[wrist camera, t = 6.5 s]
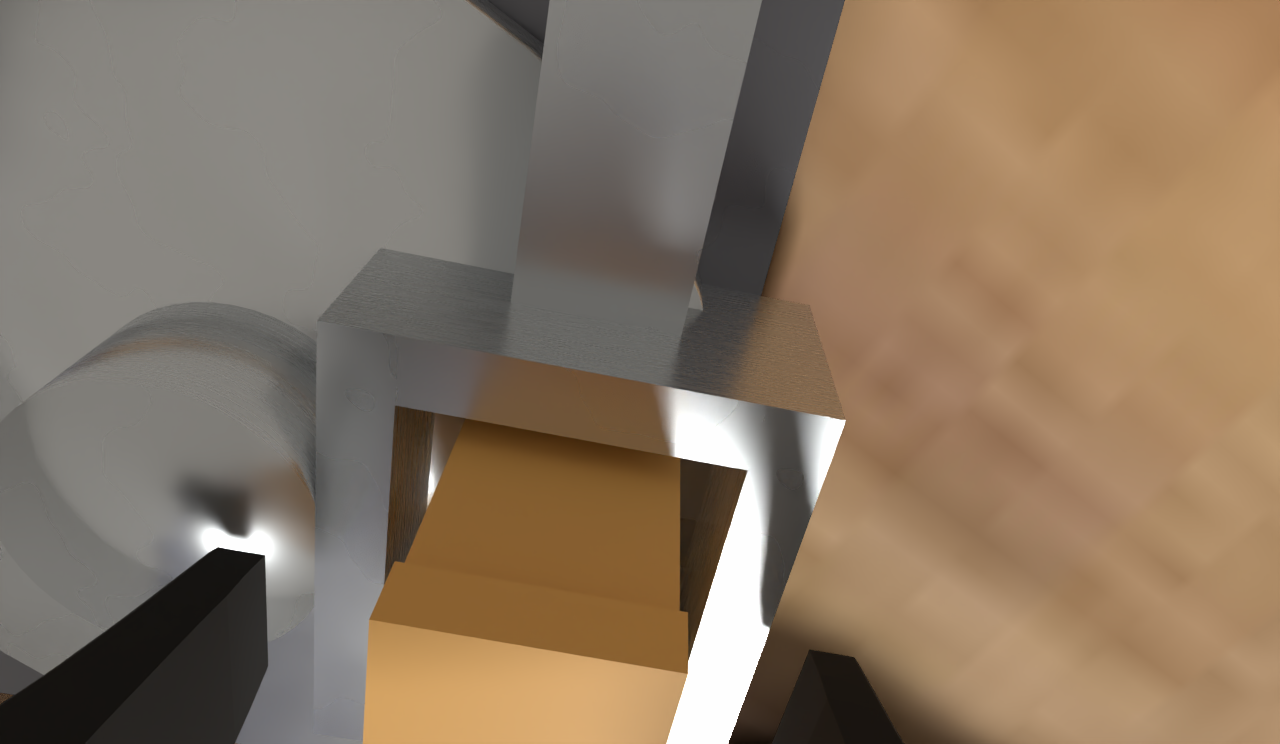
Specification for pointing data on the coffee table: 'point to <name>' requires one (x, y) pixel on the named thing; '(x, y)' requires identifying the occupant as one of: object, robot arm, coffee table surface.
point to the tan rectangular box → (534, 600)
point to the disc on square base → (392, 303)
